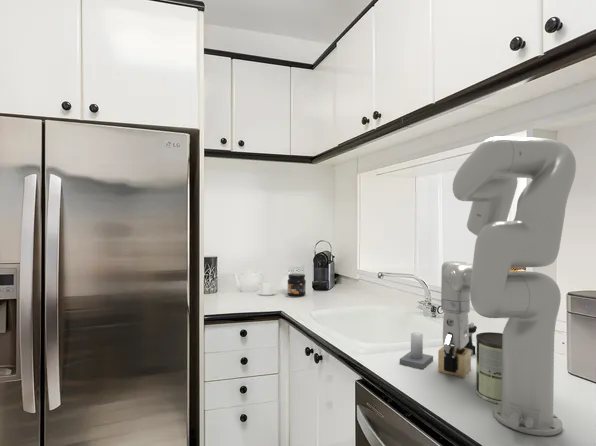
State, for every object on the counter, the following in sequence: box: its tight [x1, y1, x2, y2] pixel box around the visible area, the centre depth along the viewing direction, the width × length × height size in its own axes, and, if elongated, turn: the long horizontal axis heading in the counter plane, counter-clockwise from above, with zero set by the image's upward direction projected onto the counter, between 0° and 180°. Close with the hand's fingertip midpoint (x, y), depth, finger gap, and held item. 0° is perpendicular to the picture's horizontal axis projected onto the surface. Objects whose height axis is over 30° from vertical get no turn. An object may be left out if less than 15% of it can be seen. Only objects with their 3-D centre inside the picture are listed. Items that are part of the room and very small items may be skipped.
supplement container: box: [286, 273, 307, 298], centre depth 225 cm, size 10×10×12 cm
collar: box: [437, 345, 472, 379], centre depth 111 cm, size 7×7×6 cm
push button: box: [465, 321, 478, 356], centre depth 125 cm, size 7×5×10 cm
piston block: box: [399, 332, 434, 370], centre depth 118 cm, size 9×7×8 cm
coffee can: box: [475, 331, 503, 405], centre depth 95 cm, size 10×10×14 cm
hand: (454, 366), depth 111 cm, fingers open, 8 cm apart
